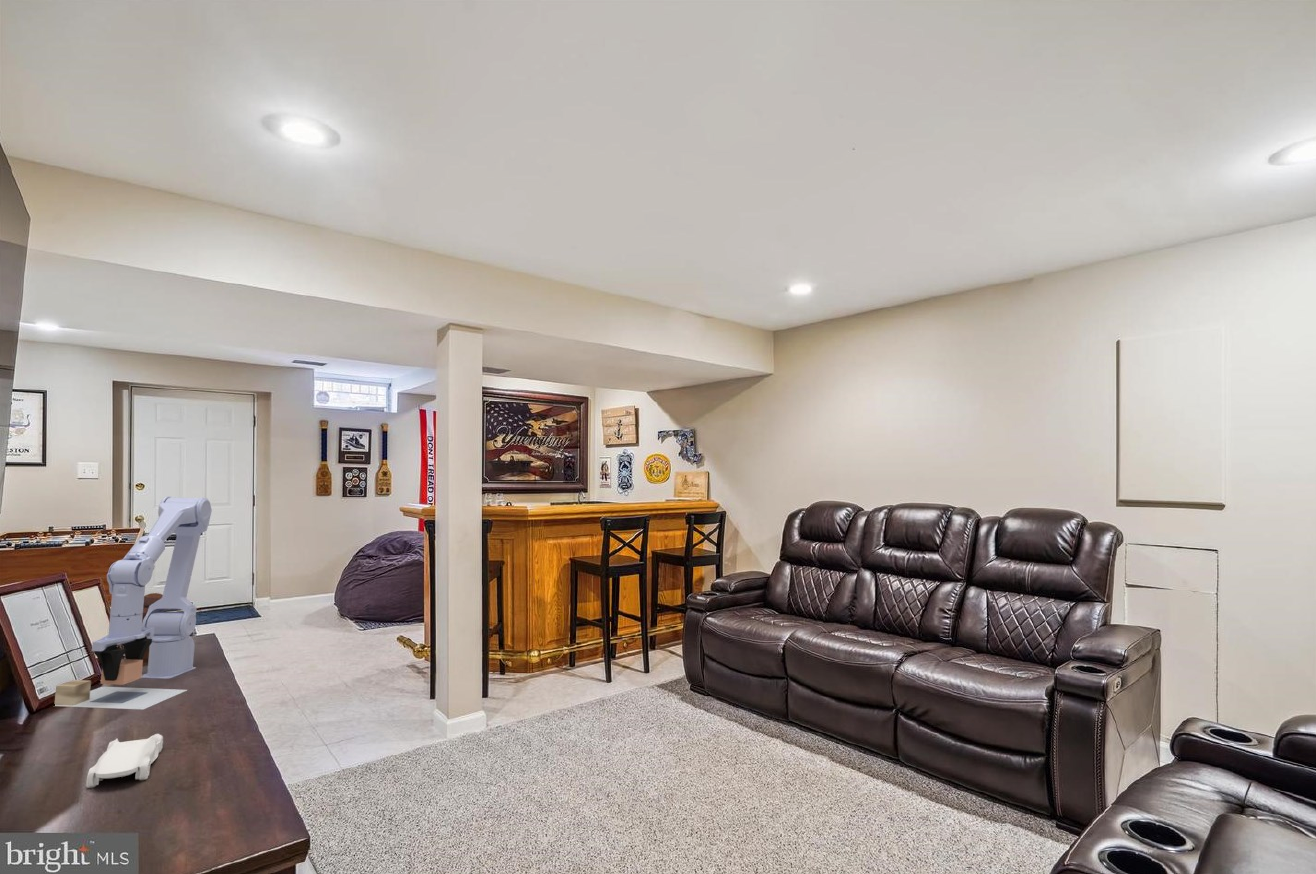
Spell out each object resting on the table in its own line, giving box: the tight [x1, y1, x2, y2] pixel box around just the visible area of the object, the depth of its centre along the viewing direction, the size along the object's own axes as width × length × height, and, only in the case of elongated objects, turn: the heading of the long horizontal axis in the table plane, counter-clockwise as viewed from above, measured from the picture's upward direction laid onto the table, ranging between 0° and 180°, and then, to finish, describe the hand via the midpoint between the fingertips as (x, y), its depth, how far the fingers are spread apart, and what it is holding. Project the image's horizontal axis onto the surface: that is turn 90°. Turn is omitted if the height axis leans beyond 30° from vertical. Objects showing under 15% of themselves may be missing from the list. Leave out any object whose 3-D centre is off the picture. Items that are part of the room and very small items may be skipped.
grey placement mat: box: [54, 686, 188, 710], centre depth 146 cm, size 13×20×1 cm, turn 89°
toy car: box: [86, 733, 164, 789], centre depth 114 cm, size 18×8×4 cm, turn 28°
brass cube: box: [54, 679, 92, 706], centre depth 143 cm, size 4×4×4 cm
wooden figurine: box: [142, 592, 167, 668], centre depth 175 cm, size 12×6×18 cm, turn 36°
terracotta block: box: [100, 658, 144, 686], centre depth 147 cm, size 5×5×4 cm
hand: (121, 676), depth 147 cm, fingers closed on terracotta block, 5 cm apart
